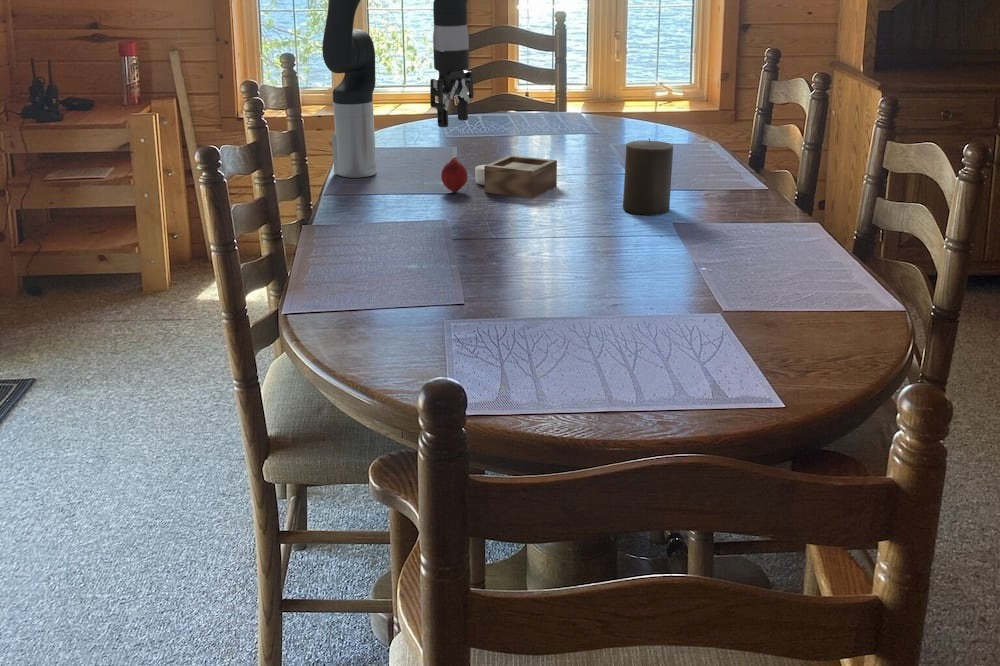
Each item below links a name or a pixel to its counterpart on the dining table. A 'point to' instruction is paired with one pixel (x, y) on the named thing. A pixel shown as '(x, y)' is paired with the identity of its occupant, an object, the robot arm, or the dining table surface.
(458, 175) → the onion
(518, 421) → the dining table surface
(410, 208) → the dining table surface
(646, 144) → the pillar candle
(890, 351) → the dining table surface
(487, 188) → the brown open square tray
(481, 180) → the white rounded pebble
